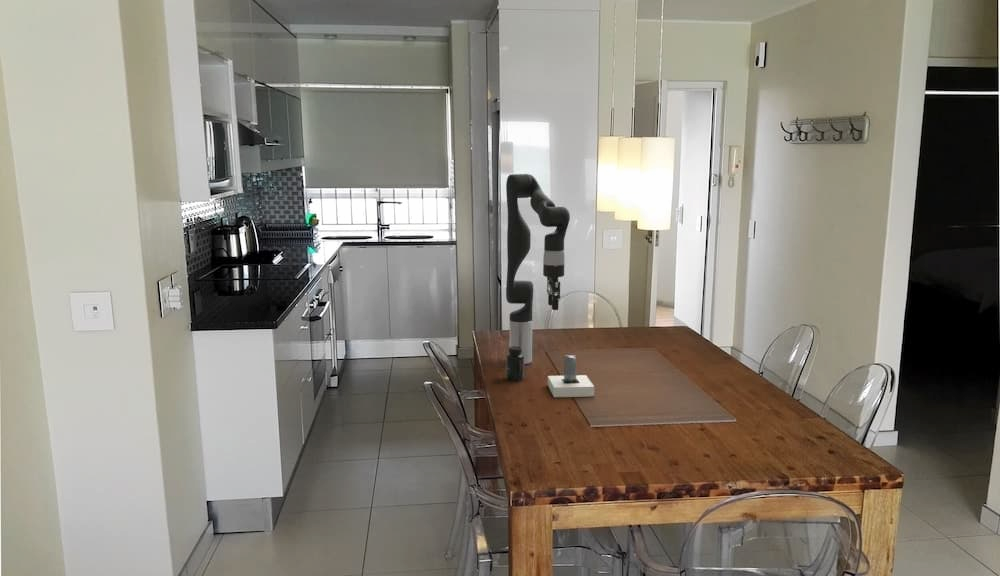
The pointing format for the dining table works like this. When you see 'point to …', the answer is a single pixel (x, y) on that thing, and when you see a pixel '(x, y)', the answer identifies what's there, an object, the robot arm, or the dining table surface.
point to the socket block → (571, 387)
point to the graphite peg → (569, 369)
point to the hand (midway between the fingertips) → (553, 307)
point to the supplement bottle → (515, 364)
